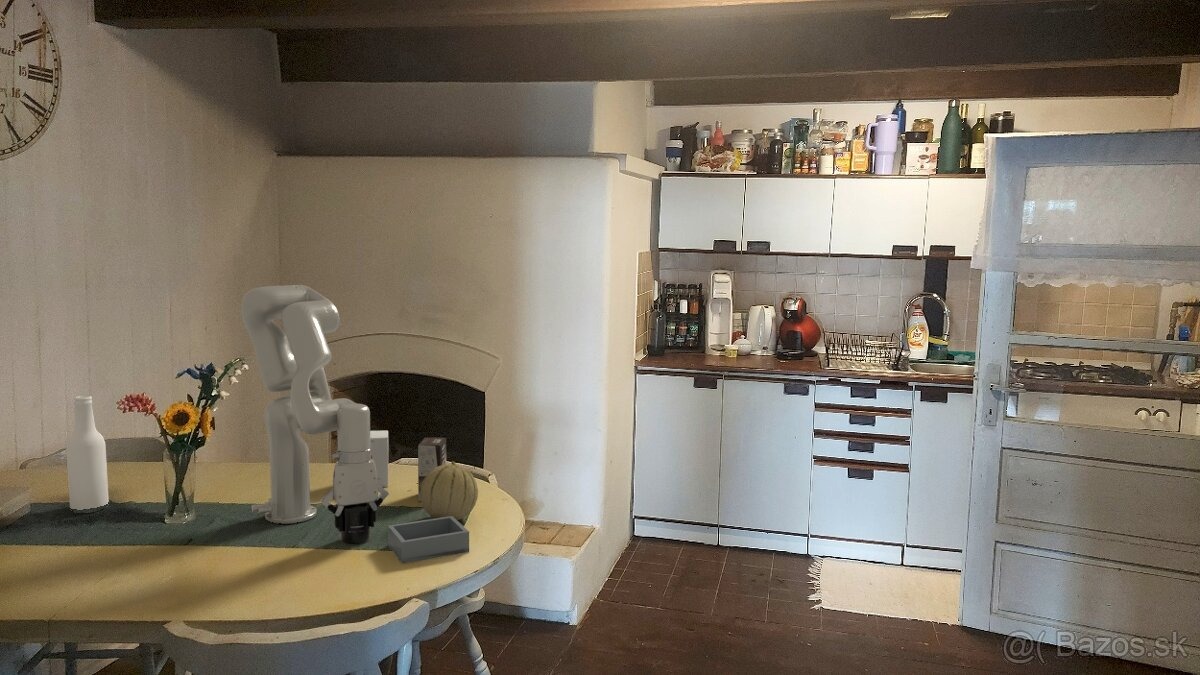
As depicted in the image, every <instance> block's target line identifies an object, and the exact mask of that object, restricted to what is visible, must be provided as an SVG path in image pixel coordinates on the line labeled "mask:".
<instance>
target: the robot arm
mask: <svg viewBox="0 0 1200 675" xmlns="http://www.w3.org/2000/svg"><path fill="white" fill-rule="evenodd" d="M240 313H241V318H242V322H243V325H244V327H245V329H246V331H247V333H248V335H249V337H250V338H249V339H250V340H251V342H252V344H253V345H252V346H253V349H254V354H255V357H256V363H257V366H258V370H259V374H260V375H259V376H260V378H261V381H262V384H263V387H264V388H265V390H266V391H268V392H270V393H285V392H290V395H287V396H282V397H277V398H275V399H272V400H271V401H269V403H267V405H266V406H265V408H264V412H263V417H264V423H265V428H266V433H267V438H268V445H269V468H270V469H269V471H270V473H269V474H270V475H269V476H270V498H268V501H267V502H264V503H263V504H262V503H261V504H259V503H258V504H252V505H251V511H252V512H251V513H258V515H260V514H264V517H265V520H266V521H267V520H268V521H267V522H269V521H270V522H269V523H272V522H273V524H279V523H281V525H286V524H287V525H288V524H298V523H302V522H306V521H309V520H311V519H313V518H314V517H316V516H317V512H318V511H317V508H316V507H315V506H313V505H311V487H310V485H311V483H310V482H311V481H310V477H311V476H310V450H309V447H308V446H309V445H308V444H307V442H306V441H305V440H304V438H303V437H302V435H301V433H302V432H305V433H306V434H307V435H311V436H314V435H315V436H316V435H320V434H325V433H330V432H335V431H336V432H337V450H336V452H332V453H331V459H332V460H336V461H335V463H334V467H333V474H332V475H333V476H332V488H331V489H330V490H329V491H328V492H326V494H325V495H324V496H323V497H322V498H321V499H320V502H321V504H322V506H324V507H325V508H326V509H328V511H330V512H331V513H332V514H333V515H334V527H335V528H336V529H337V530H338V532H339V533H341V532H342V531H343V516H342V515H341V512H342V510H343V507H344V506H348V505H355V504H363V503H368V504H369V505H370V528H374V527H375V523H376V522H377V510H378V509H379V507H380V506H381V504H382V503H383V502H384V500H386V498H387V497H388V496H389V491H388V490H387V489H385V487H381V486H379V485H378V483H377V473H376V467H375V462H374V460H373V459H371V450H370V431H371V411H370V407H368V405H367V404H363V403H356V402H354V401H353V400H351V399H349V398H344V397H342V398H340V397H339V398H334V399H332V396H331V395H332V394H331V391H330V387H329V384H328V379H327V375H326V372H325V368H324V367H325V366H327V365H328V364H329V363H330V362H331V361H332V352H331V350H330V347H329V344H328V342H327V339H326V337H325V334H329V333H333V332H335V331H336V330H337V329H339V326H340V314H339V311H338V308H337V306H336V305H335V304H334V303H333V302H332V301H331V300H330V299H329V298H328V297H325V296H323V295H322V294H321V293H320V292H318V291H316V290H314V289H313V288H312V287H310V286H307V285H305V284H287V285H285V284H284V285H269V286H268V285H267V286H261V287H255V288H252V289H250V290H249V291H247V292H245V294H244V295H243V298H242V299H241V306H240ZM277 319H278V320H279V319H280V320H281V325H282V328H283V329H282V328H281V326H279V325H278V324H277V323H275V322H274V320H277ZM332 499H333V501H334V503H335V505H333V504H332V503H331V502H330V500H332ZM297 522H298V523H297Z"/></svg>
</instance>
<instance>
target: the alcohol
mask: <svg viewBox="0 0 1200 675" xmlns="http://www.w3.org/2000/svg"><path fill="white" fill-rule="evenodd" d="M73 400H74V401H73V402H74V429H73V433H71V435H70V436H69V438H68V439H67V441H66V445H65V451H66V452H65V453H66V463H67V464H66V465H67V466H66V467H67V480H68V496H69V498H68V499H69V509H70V508H71V509H77V510H83V509H90V508H97V507H100V506H104V505H106V504H108V502H109V503H110V501H109V500H110V498H109V482H108V465H107V449H106V448H107V446H106V441H105V438H104V436H103V434H101V433H100V432H99V431H98V430H97V428H96V423H95V415H94V408H93V397H92V396H91V395H84V394H83V395H78V396H75V397H74V398H73ZM108 505H109V504H108ZM71 509H70V510H71Z"/></svg>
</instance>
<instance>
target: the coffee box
mask: <svg viewBox="0 0 1200 675" xmlns="http://www.w3.org/2000/svg"><path fill="white" fill-rule="evenodd" d="M417 454H418V455H417V458H418V459H417V461H418V463H417V465H418V466H417V470H418V471H417V474H418V476H417V488H418V489H417V492H418V493H417V500H418V502H421V499H420V488H421V485H422V482H423V480H424V479H425V477H426V476H427V474H428V473H429V472H430V471H432V470H433V469H434V468H436V467H438V466H441V465H447V437H424V438H423V439H422V440H421V441H420V443H419V444H418V445H417Z"/></svg>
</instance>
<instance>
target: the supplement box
mask: <svg viewBox="0 0 1200 675" xmlns="http://www.w3.org/2000/svg"><path fill="white" fill-rule="evenodd" d="M370 450H371V459H373V460H374V462H375V467H376V473H377V483H378V485H379V486H381V487H382V488H388V487H389V430H370Z"/></svg>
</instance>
